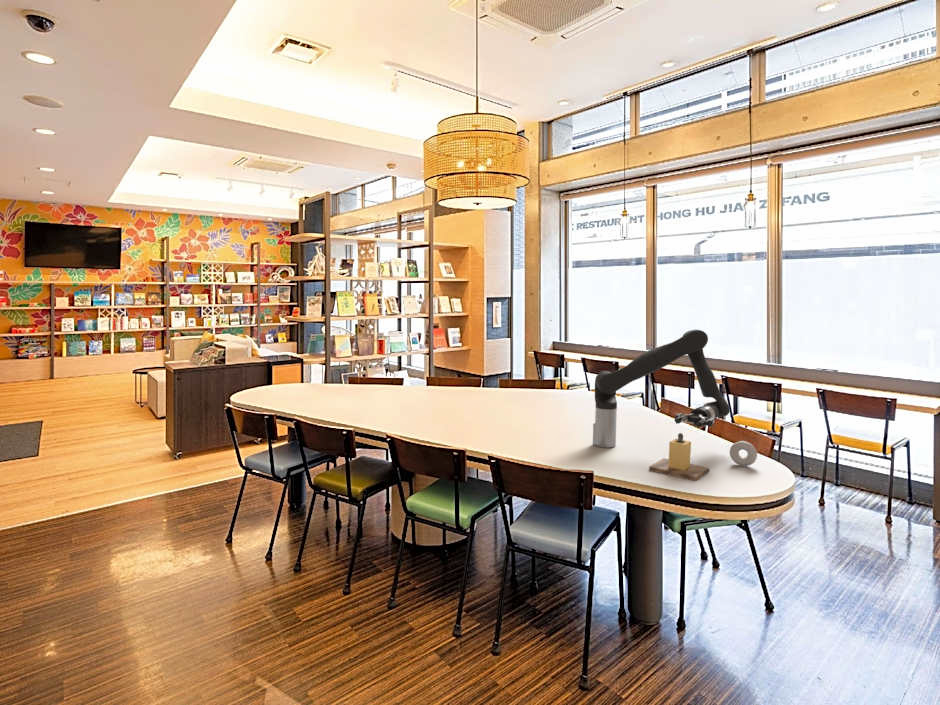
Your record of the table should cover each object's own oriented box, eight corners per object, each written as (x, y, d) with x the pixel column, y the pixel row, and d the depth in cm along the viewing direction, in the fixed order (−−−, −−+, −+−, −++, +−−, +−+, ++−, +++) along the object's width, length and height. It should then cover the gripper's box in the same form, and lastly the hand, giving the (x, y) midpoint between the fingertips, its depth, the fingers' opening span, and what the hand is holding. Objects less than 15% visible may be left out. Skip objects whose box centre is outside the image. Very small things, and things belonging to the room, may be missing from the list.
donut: (757, 467, 221) (758, 442, 220) (755, 469, 218) (757, 444, 217) (729, 462, 227) (731, 438, 226) (727, 464, 224) (729, 440, 223)
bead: (668, 467, 216) (669, 441, 215) (674, 463, 220) (675, 438, 219) (683, 470, 212) (685, 444, 211) (689, 466, 216) (691, 441, 215)
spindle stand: (648, 470, 217) (650, 432, 215) (663, 461, 227) (665, 425, 226) (695, 480, 205) (697, 441, 203) (709, 471, 215) (711, 433, 214)
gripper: (685, 404, 235) (670, 410, 223) (720, 409, 226) (706, 416, 214) (684, 421, 236) (669, 429, 224) (719, 427, 227) (705, 435, 215)
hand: (687, 422), depth 219 cm, fingers open, 8 cm apart
